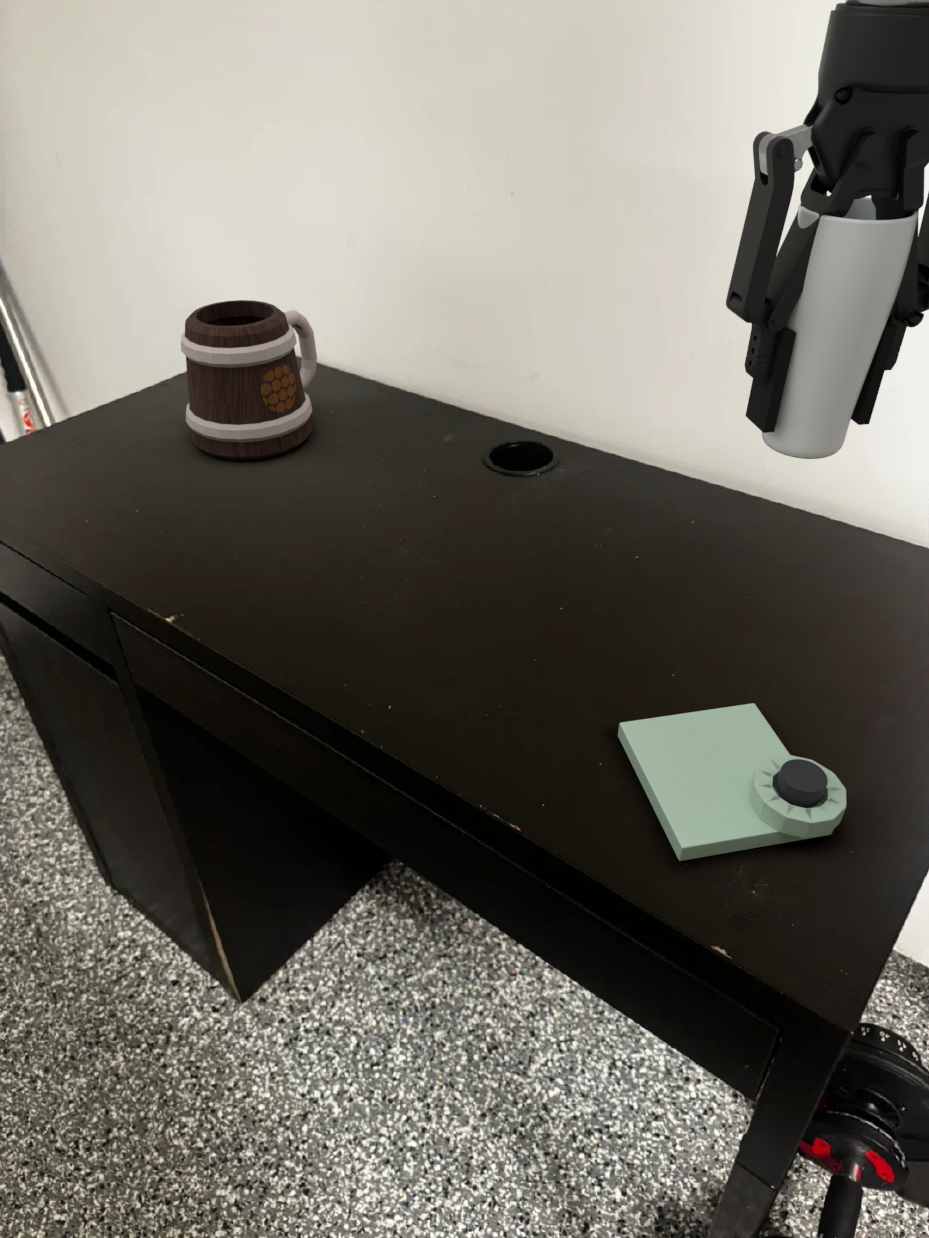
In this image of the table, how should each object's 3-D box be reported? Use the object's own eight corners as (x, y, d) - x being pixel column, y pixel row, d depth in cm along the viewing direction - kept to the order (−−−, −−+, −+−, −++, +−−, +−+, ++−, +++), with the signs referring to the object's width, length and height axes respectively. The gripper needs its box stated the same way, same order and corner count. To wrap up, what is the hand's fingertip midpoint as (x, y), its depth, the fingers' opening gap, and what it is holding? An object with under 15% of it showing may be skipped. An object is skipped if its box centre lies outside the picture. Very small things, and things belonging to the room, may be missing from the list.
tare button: (830, 804, 59) (836, 788, 58) (789, 811, 58) (794, 795, 58) (808, 771, 61) (813, 755, 60) (767, 778, 61) (772, 762, 60)
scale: (852, 843, 60) (864, 813, 58) (684, 873, 58) (691, 843, 56) (762, 714, 70) (770, 685, 68) (617, 735, 68) (621, 706, 66)
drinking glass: (748, 461, 59) (799, 217, 50) (749, 419, 64) (795, 192, 55) (856, 473, 57) (929, 224, 48) (848, 430, 63) (912, 198, 54)
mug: (255, 475, 101) (235, 345, 92) (163, 443, 108) (136, 319, 99) (364, 415, 115) (355, 296, 106) (276, 390, 121) (261, 276, 112)
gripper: (1026, -5, 50) (904, 388, 64) (706, -3, 47) (651, 408, 61) (1128, 0, 44) (970, 432, 58) (770, 2, 41) (693, 456, 55)
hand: (806, 419), depth 59 cm, fingers closed on drinking glass, 6 cm apart
